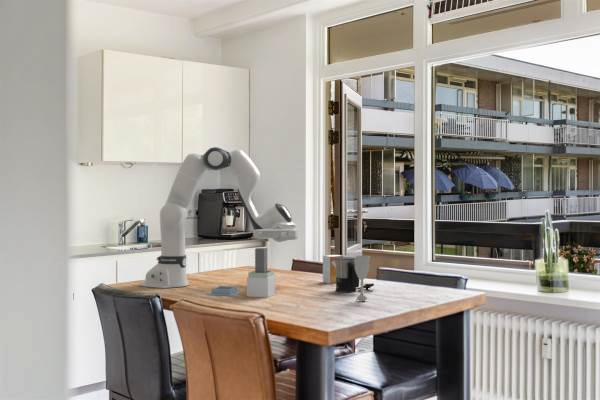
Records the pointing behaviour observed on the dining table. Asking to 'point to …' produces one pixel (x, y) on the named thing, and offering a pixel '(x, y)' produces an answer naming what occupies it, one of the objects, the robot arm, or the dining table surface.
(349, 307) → the dining table surface
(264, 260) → the plug block
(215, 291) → the floor socket
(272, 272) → the block
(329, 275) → the small box
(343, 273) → the milk frother
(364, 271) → the chalice
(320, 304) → the dining table surface
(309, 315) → the dining table surface
